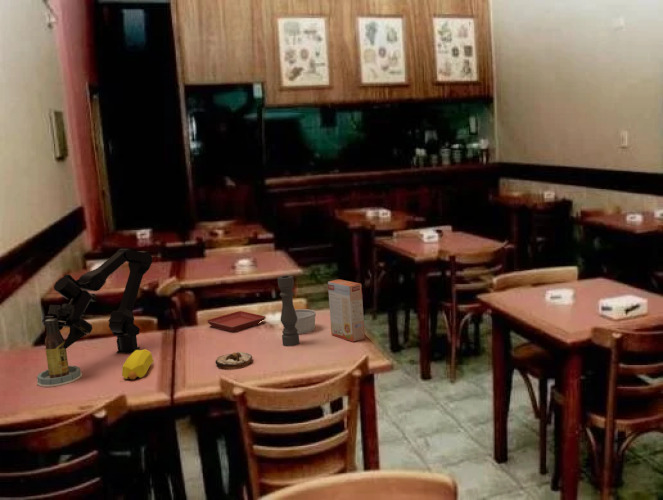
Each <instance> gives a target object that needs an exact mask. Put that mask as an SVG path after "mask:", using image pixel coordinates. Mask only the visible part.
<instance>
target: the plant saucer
mask: <svg viewBox="0 0 663 500" xmlns="http://www.w3.org/2000/svg"><path fill="white" fill-rule="evenodd" d="M266 318H267V316H265V315H261V314H258V313H252V312H247V311H243V310H238V311H234V312H231V313H227V314H224V315H220V316H217V317H213V318H210V319H207V320H206V322H207V323H208V324H209V325H210V326H211V327H213V328H217V329H220V330H224V331H227V332H232V333H235V332H238V331H240V330H241V331H242V330H244V329H248V328H251V327H255V326H257V325H259V324H258V323H259V322H260V321H262V320H265V319H266Z"/></svg>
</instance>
